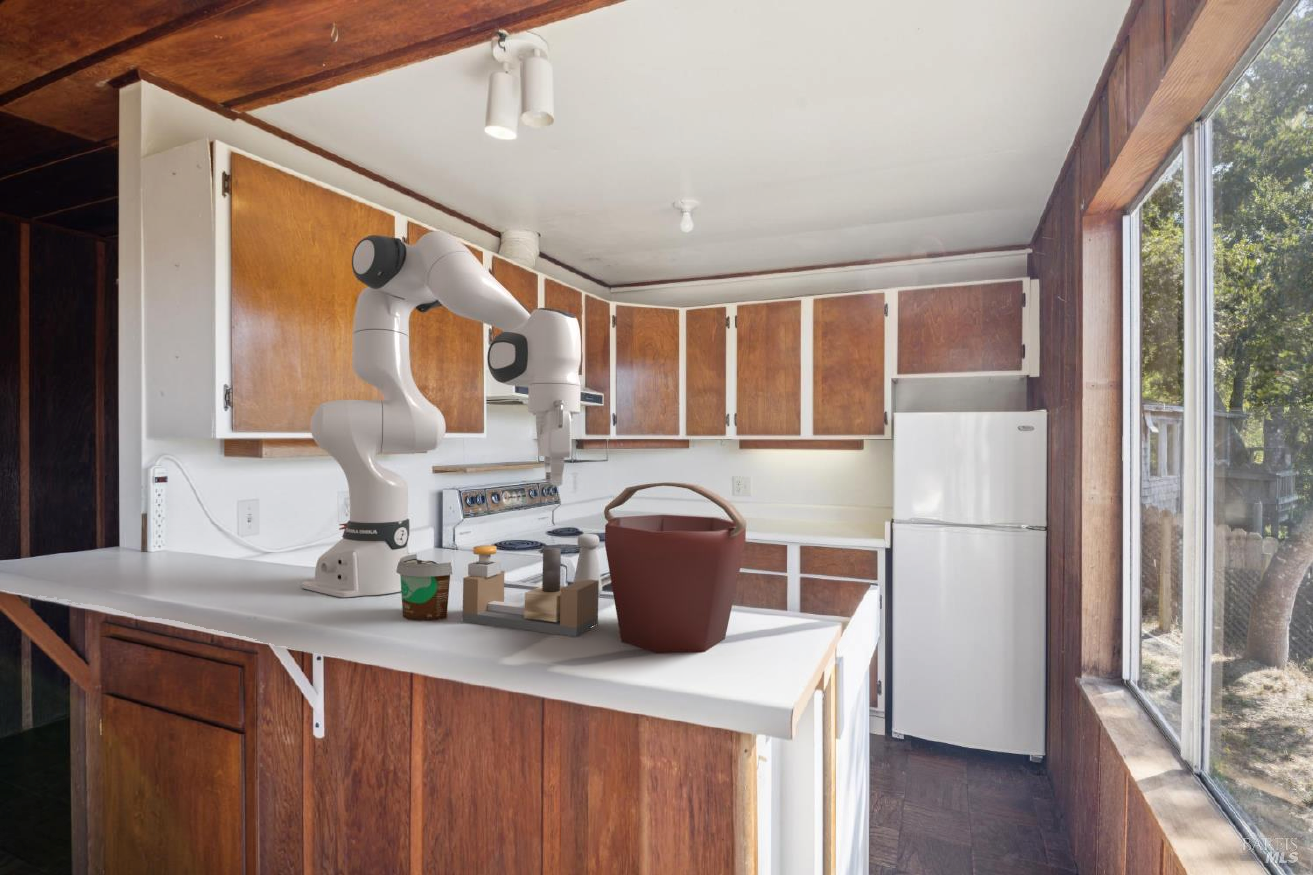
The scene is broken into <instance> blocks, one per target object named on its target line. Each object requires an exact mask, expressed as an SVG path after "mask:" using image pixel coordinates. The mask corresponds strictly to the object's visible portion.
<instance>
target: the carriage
mask: <svg viewBox="0 0 1313 875" xmlns="http://www.w3.org/2000/svg"><path fill="white" fill-rule="evenodd" d="M561 556H562V549H561V548H559V547H545V548H543V549H542V582H541V583H542V585H541V586H539V587H535V588H533V589H531V590H528V591H526V592H525V593H524V605H525V614H524V618H528V619H536V620H544V621H551V622H557V621H559V613H560V601H561V588H563V587H566V586H567V585H566V586H565V585H561V566H562V565H561V563H562V562H561V561H562V560H561V558H562V557H561Z"/></svg>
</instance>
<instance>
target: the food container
mask: <svg viewBox="0 0 1313 875" xmlns="http://www.w3.org/2000/svg"><path fill="white" fill-rule="evenodd" d="M396 572H397V573H398V574H400V578H401V591H400V593H401V606H402V611H401V612H402V617H403V619H405V620H407V621H412V622H434V621H442V620H446V619H447V618H448V608H449V595H450V584H451V583H450V582H451V575H453V567H452V562H451V561H450V562H442V563H438V562H437V561H436V562H435V561H434V560H421V559H418V556H417V553H416V554H409V555H408V556H405V557H402V558H401V559H400V562H398V566H397V570H396Z"/></svg>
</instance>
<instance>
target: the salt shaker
mask: <svg viewBox="0 0 1313 875" xmlns="http://www.w3.org/2000/svg"><path fill="white" fill-rule="evenodd" d="M576 541H577V546H578V547H580V549H579V554H578V560H577V563H576V568H575V574H574V579H573V583H575V582H577V581H580V580H582V579H588V580H598V581H599V593H598V599H599V597H600V595H601V594H602V592H603V584H602V579H601V571H600V567H599V566H600V565H599V560H598V553H597V547H599V545H600V537H599V536H598V535H597V534H596V533H595V534H594V533H583V534H580V535H579V536H577V540H576Z"/></svg>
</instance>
